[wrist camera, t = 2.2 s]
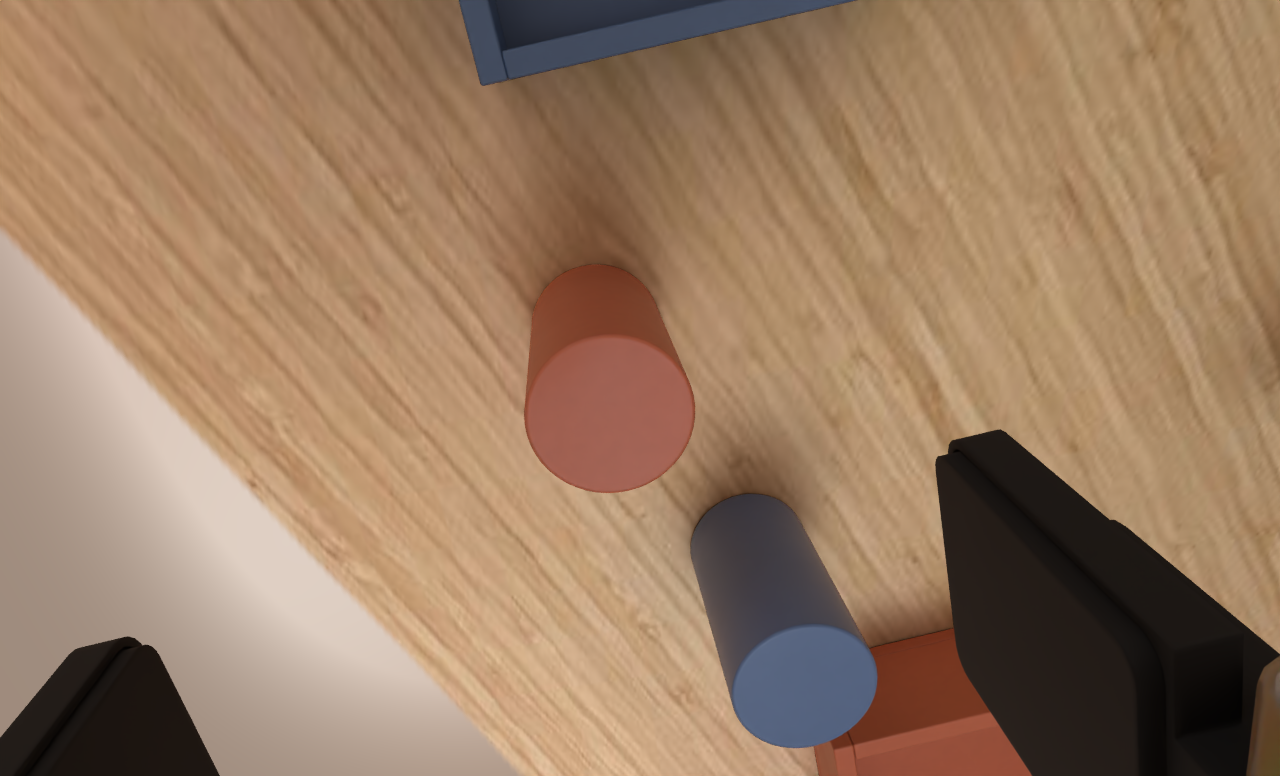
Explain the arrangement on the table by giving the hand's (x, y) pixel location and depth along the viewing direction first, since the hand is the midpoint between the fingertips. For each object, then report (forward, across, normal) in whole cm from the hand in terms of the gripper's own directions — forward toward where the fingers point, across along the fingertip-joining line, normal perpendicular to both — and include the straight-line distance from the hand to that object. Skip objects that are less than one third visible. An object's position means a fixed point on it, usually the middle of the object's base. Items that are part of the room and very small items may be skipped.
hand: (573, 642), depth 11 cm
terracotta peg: (+16, -1, +1) cm, 16 cm away
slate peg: (+16, -4, +9) cm, 18 cm away
